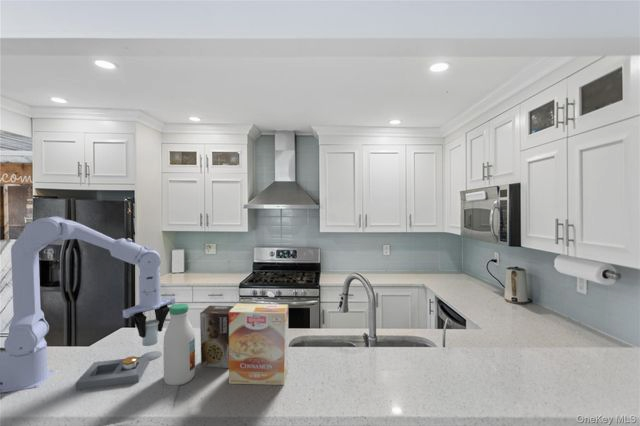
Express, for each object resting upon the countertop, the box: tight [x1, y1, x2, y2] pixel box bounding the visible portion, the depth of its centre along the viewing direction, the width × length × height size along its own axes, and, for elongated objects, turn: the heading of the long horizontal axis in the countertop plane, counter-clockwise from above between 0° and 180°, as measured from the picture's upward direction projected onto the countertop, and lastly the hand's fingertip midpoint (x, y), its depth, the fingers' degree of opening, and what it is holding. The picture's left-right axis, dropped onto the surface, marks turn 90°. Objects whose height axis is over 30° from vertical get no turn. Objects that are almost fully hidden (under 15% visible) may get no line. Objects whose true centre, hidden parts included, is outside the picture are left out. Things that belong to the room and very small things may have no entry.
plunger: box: [122, 355, 137, 370], centre depth 84 cm, size 3×3×4 cm
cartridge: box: [141, 318, 159, 347], centre depth 93 cm, size 5×5×7 cm
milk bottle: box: [163, 303, 196, 386], centre depth 82 cm, size 8×8×20 cm
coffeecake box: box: [228, 303, 289, 386], centre depth 83 cm, size 15×7×20 cm, turn 88°
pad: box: [140, 350, 163, 362], centre depth 93 cm, size 6×6×1 cm
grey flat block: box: [75, 356, 150, 392], centre depth 83 cm, size 14×10×2 cm
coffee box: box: [199, 305, 235, 369], centre depth 90 cm, size 9×6×16 cm
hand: (150, 333), depth 93 cm, fingers closed on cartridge, 4 cm apart
